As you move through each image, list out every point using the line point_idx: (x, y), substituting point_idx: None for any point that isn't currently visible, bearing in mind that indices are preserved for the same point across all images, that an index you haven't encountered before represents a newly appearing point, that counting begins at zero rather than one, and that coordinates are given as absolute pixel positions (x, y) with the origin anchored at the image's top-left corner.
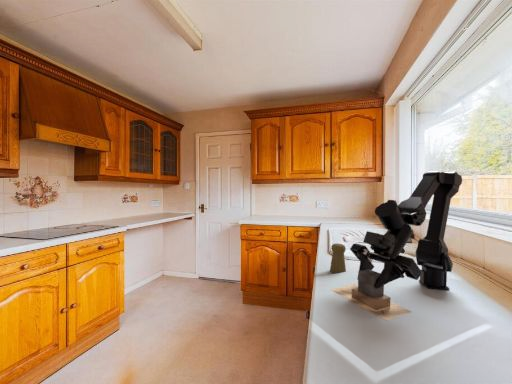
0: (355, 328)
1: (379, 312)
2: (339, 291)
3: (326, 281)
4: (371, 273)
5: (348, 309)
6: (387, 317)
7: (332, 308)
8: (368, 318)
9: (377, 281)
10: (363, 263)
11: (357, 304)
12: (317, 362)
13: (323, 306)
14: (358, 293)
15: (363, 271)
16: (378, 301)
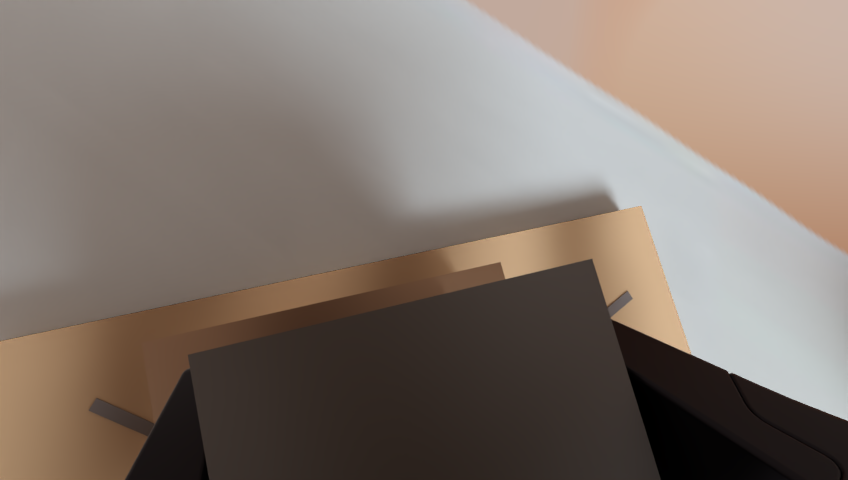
0: (49, 48)
1: None
2: (610, 264)
3: (825, 309)
4: (418, 458)
5: (344, 187)
6: (27, 398)
7: (383, 78)
8: (159, 256)
9: (165, 437)
10: (821, 475)
11: (354, 269)
12: None
13: (424, 35)
14: (405, 283)
15: (554, 345)
16: (153, 389)
